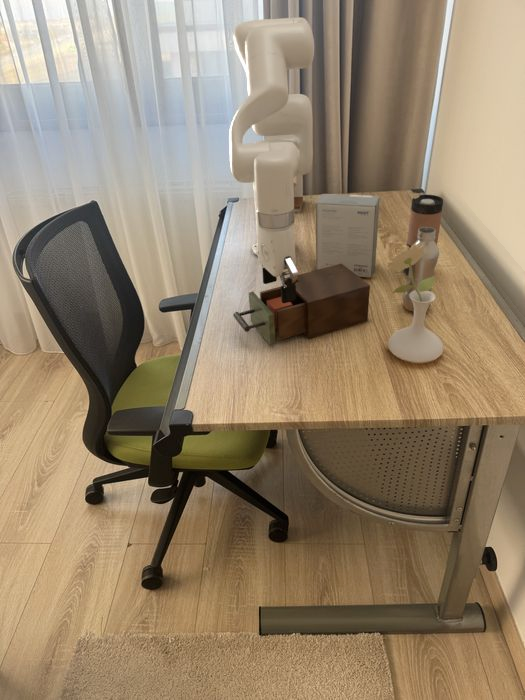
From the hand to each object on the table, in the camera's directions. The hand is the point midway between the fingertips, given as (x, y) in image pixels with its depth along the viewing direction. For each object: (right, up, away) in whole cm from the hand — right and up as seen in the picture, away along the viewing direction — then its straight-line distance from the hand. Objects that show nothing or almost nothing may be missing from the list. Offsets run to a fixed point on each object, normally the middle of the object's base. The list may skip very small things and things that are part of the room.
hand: (279, 291), depth 113 cm
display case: (+5, +38, +71) cm, 81 cm away
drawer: (0, -8, +5) cm, 9 cm away
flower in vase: (+28, -14, -4) cm, 31 cm away
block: (0, -7, +5) cm, 8 cm away
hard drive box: (+19, +9, +29) cm, 36 cm away
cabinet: (+11, -5, +9) cm, 16 cm away
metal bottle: (+33, -3, +10) cm, 35 cm away
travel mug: (+38, +8, +25) cm, 47 cm away
